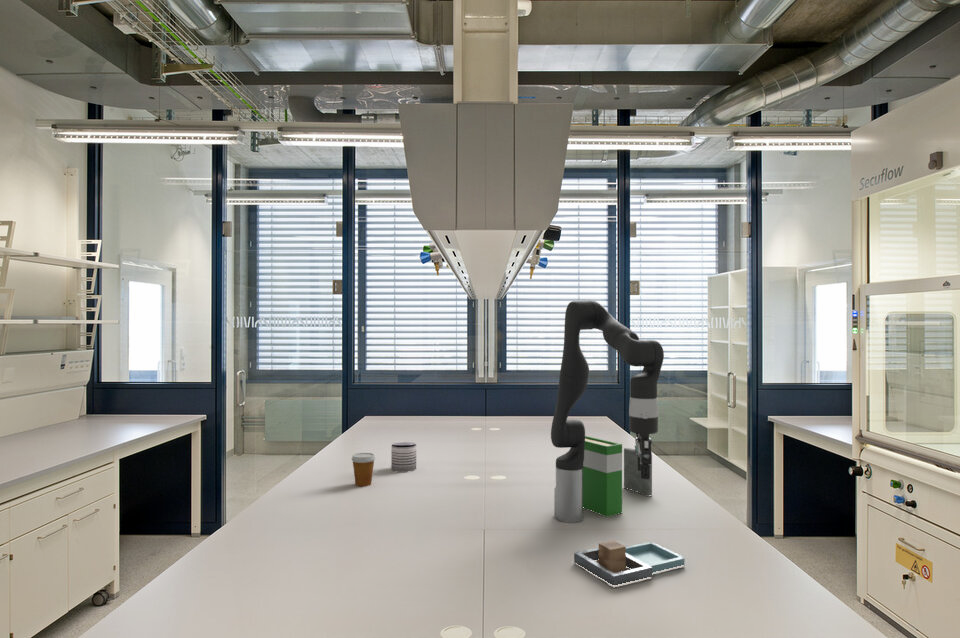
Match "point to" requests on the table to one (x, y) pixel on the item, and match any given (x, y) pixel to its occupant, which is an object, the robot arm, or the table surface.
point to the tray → (655, 556)
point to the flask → (635, 473)
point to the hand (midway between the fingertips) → (643, 474)
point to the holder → (635, 573)
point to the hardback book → (602, 476)
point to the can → (403, 457)
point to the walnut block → (612, 556)
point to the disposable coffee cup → (363, 468)
